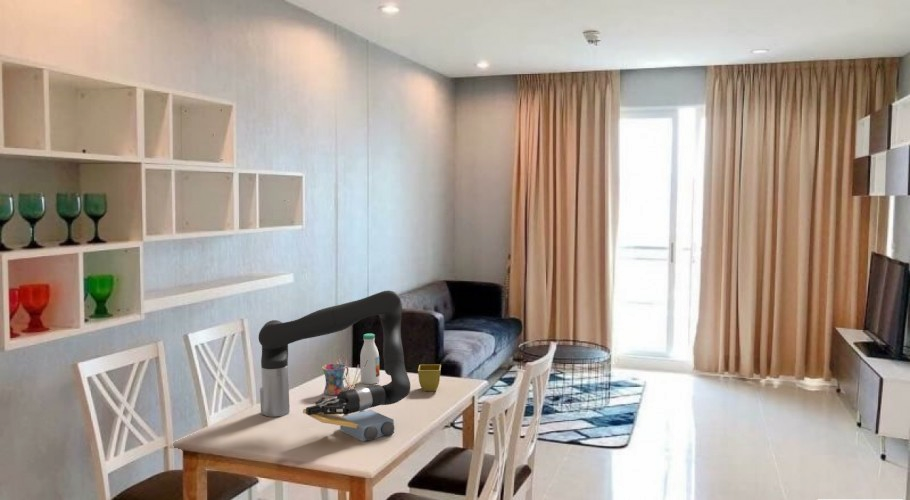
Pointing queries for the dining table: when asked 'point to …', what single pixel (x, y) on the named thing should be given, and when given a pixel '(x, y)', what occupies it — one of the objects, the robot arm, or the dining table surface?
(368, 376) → the milk bottle
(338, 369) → the mug
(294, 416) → the dining table surface
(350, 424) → the yellow plate
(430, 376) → the flower pot
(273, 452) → the dining table surface
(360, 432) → the flatbed
